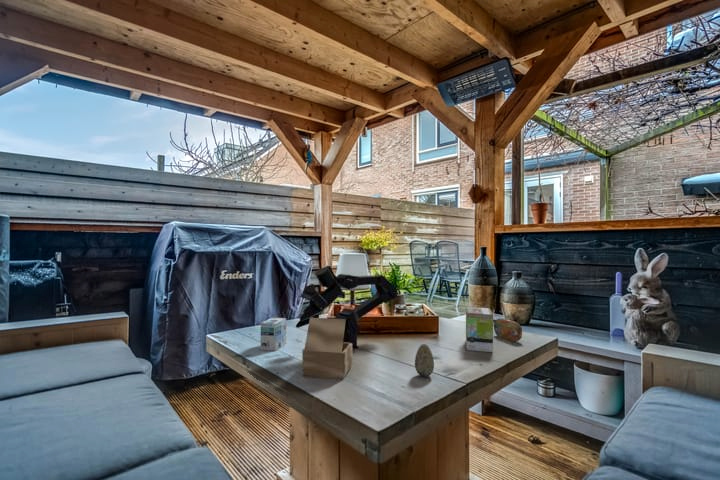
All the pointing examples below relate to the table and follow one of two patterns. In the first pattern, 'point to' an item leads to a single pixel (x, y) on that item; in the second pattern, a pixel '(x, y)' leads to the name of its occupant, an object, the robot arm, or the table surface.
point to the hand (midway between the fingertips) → (298, 323)
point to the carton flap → (325, 335)
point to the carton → (327, 363)
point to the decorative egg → (424, 361)
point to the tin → (508, 330)
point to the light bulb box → (273, 334)
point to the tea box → (479, 329)
